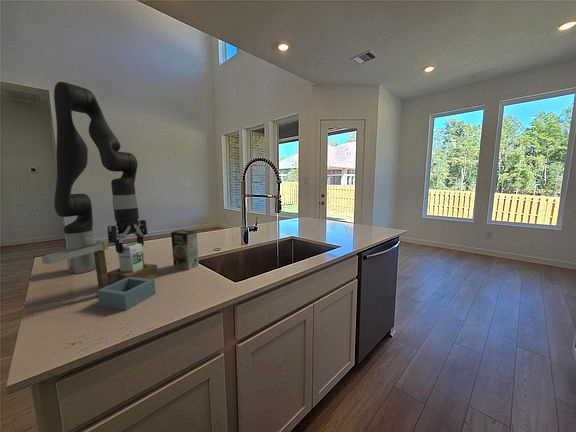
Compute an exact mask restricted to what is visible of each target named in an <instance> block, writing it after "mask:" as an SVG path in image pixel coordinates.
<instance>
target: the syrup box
mask: <svg viewBox="0 0 576 432" xmlns="http://www.w3.org/2000/svg"><path fill="white" fill-rule="evenodd" d="M123 251H124V252H123V253H118V254H117V256H118V262H119V268H120V270H121V272H125V273H134V272H136V271H139V270H141V269H143V268H145V265H144V264H145V258H144V250H143V246H142V244H140V243H137V242H130V243H127V244H124V245H123Z"/></svg>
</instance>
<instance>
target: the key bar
mask: <svg viewBox="0 0 576 432" xmlns="http://www.w3.org/2000/svg"><path fill="white" fill-rule="evenodd" d="M99 250H104V251H106V250H109V241H107V240H106V241H103V240H97V241H95V242H94V244H90V245H86V246H82V247H78V248H74V249H70V250H67V249H65V250H62V251H59V252H58V251H57V252H54V253H50V254H47V255H42V256H41V261H42V264H45V265H53V264H57V263H60V262H63V261H68V259H71V258H75V257H78V256H82V255H85V254H89V253H92V252H96V251H99Z"/></svg>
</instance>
